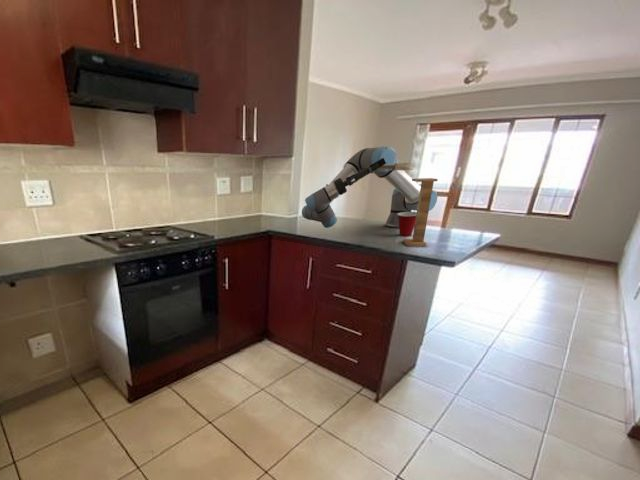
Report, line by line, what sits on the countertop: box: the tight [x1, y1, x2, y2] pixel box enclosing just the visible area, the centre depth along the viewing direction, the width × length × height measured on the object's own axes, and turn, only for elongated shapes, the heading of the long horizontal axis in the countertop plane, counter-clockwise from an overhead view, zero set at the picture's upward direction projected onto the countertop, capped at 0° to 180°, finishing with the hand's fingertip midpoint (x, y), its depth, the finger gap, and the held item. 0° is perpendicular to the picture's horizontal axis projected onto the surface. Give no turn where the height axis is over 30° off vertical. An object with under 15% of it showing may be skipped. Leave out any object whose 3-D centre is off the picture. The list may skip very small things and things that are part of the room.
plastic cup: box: [397, 211, 417, 237], centre depth 180 cm, size 11×11×12 cm
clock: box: [366, 162, 415, 171], centre depth 153 cm, size 8×20×3 cm, turn 78°
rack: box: [402, 177, 439, 247], centre depth 157 cm, size 10×8×30 cm
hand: (384, 160), depth 152 cm, fingers closed on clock, 2 cm apart
